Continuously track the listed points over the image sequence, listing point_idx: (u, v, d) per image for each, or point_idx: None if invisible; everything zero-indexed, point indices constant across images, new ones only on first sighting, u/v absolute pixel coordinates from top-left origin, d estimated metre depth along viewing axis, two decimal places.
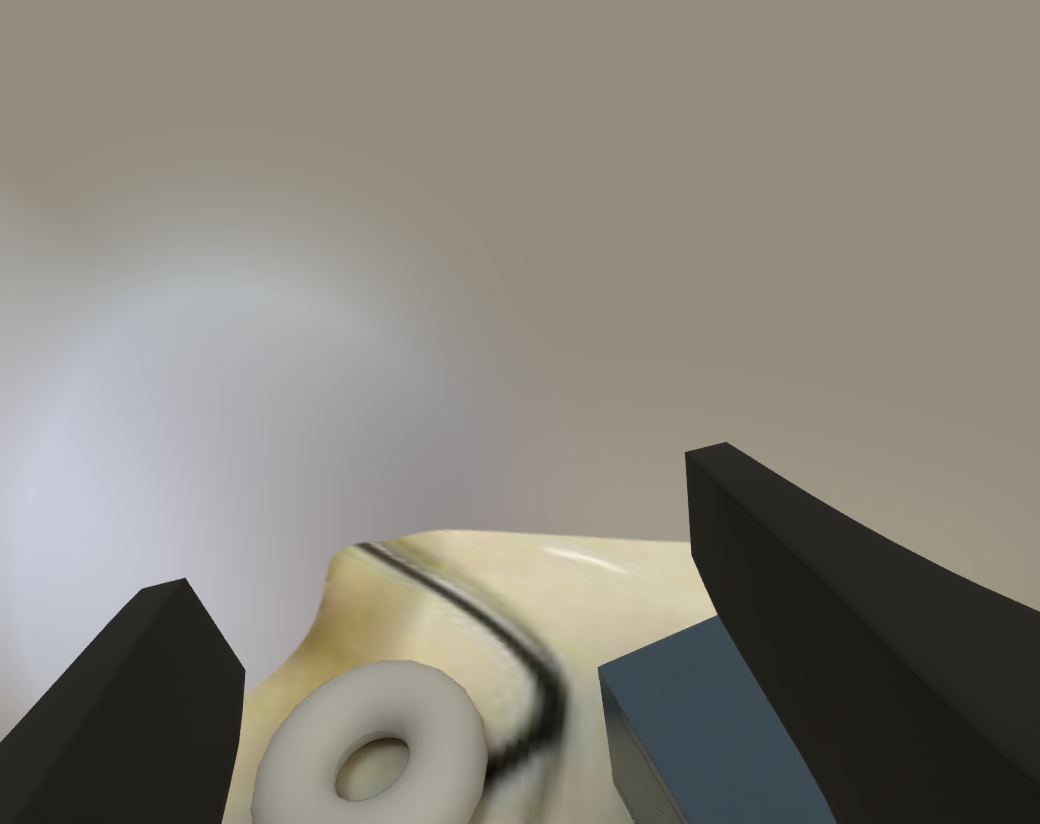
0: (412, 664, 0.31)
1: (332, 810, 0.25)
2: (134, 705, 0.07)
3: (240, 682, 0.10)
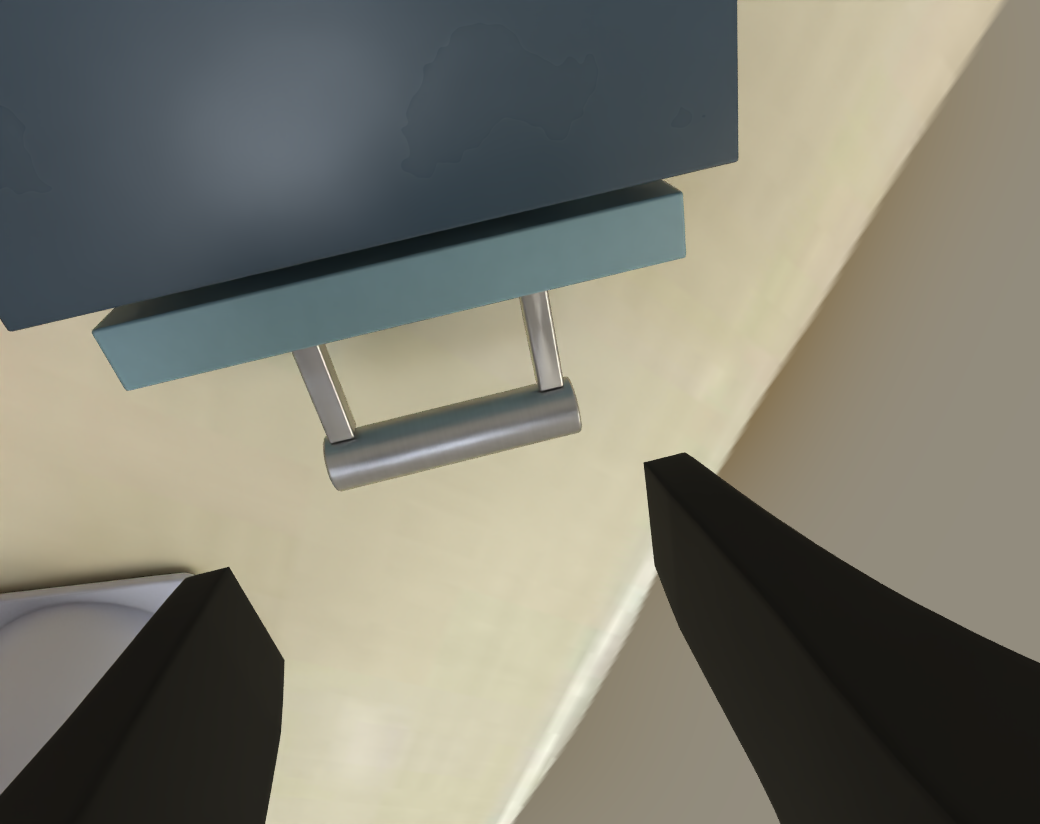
0: None
1: None
2: (187, 691, 0.07)
3: (280, 671, 0.10)
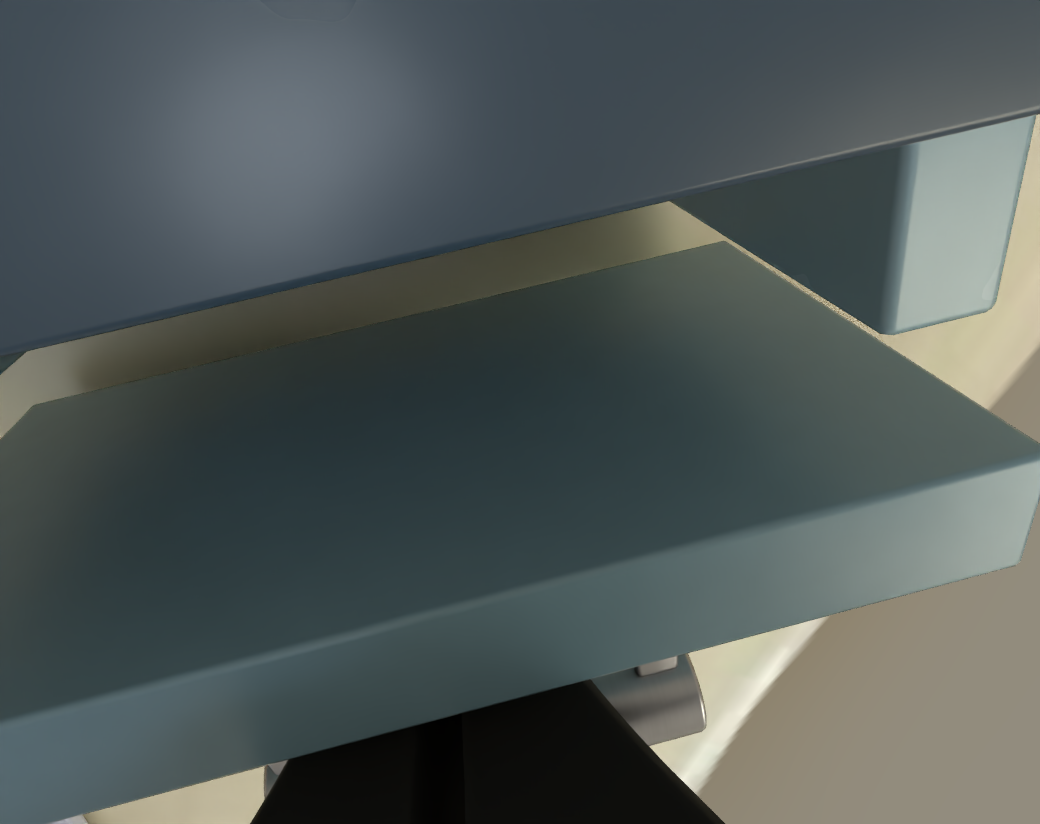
0: None
1: None
2: None
3: None
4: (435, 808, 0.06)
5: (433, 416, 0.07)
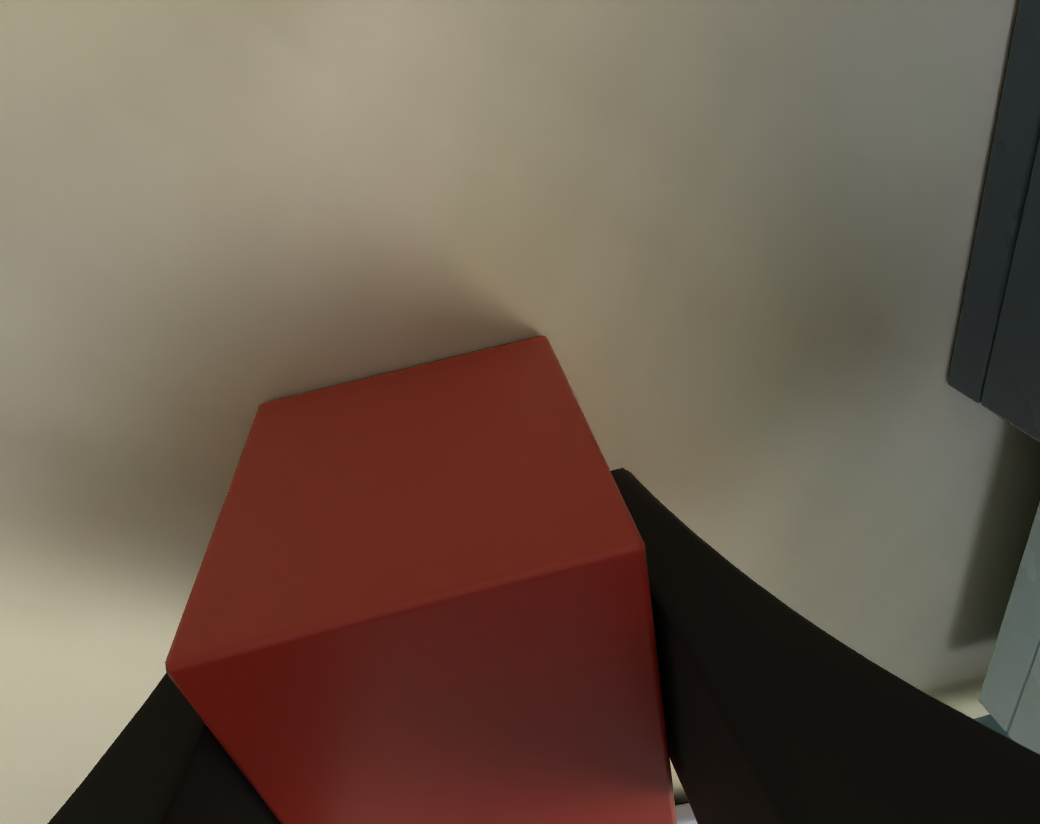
0: None
1: None
2: None
3: None
4: None
5: None
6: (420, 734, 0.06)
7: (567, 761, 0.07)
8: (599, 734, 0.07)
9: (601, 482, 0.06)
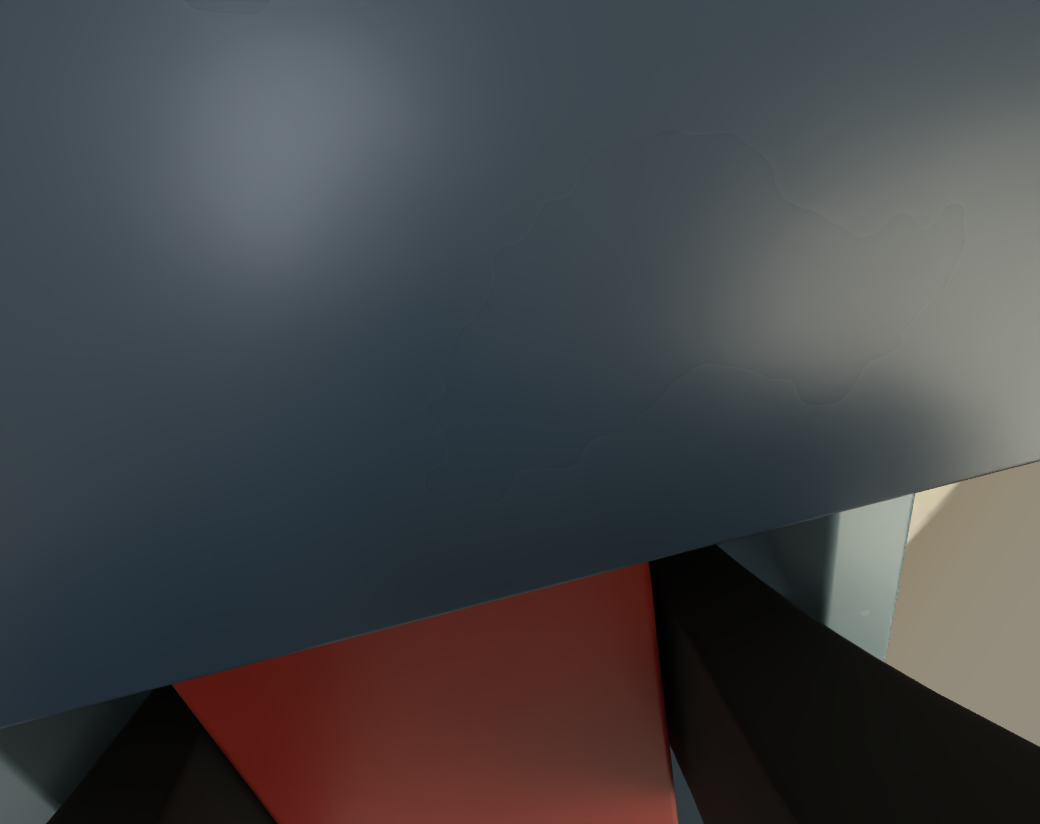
0: None
1: None
2: None
3: None
4: None
5: None
6: (419, 732, 0.06)
7: (568, 759, 0.07)
8: (601, 735, 0.07)
9: None
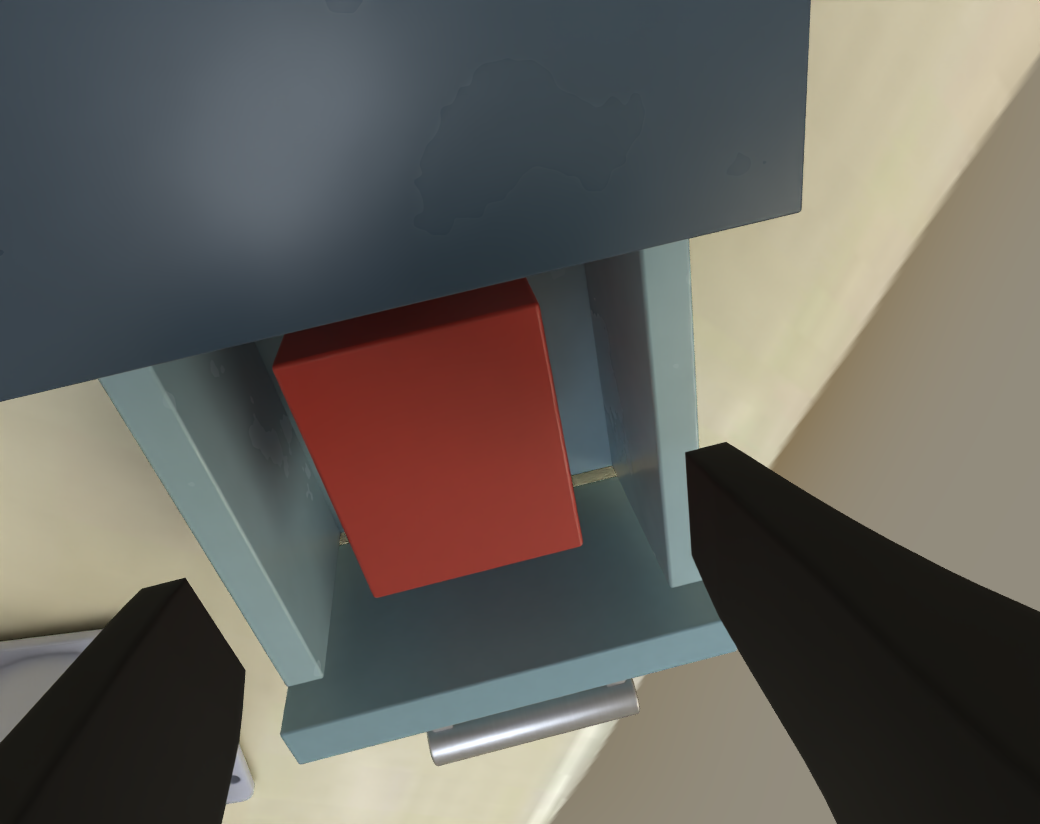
0: None
1: None
2: (134, 705, 0.07)
3: (240, 682, 0.10)
4: None
5: (516, 580, 0.16)
6: (414, 432, 0.11)
7: (504, 465, 0.11)
8: (523, 446, 0.11)
9: (521, 284, 0.11)
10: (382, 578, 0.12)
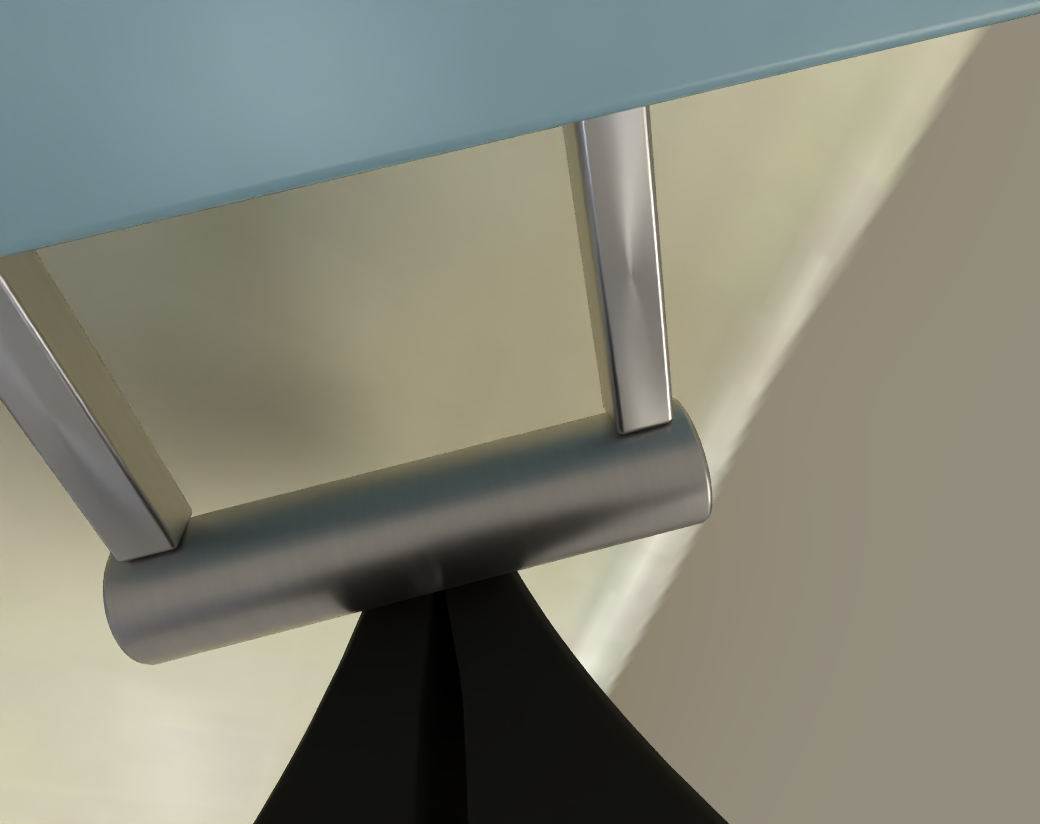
0: None
1: None
2: (442, 625, 0.07)
3: None
4: (438, 807, 0.06)
5: None
6: None
7: None
8: None
9: None
10: None
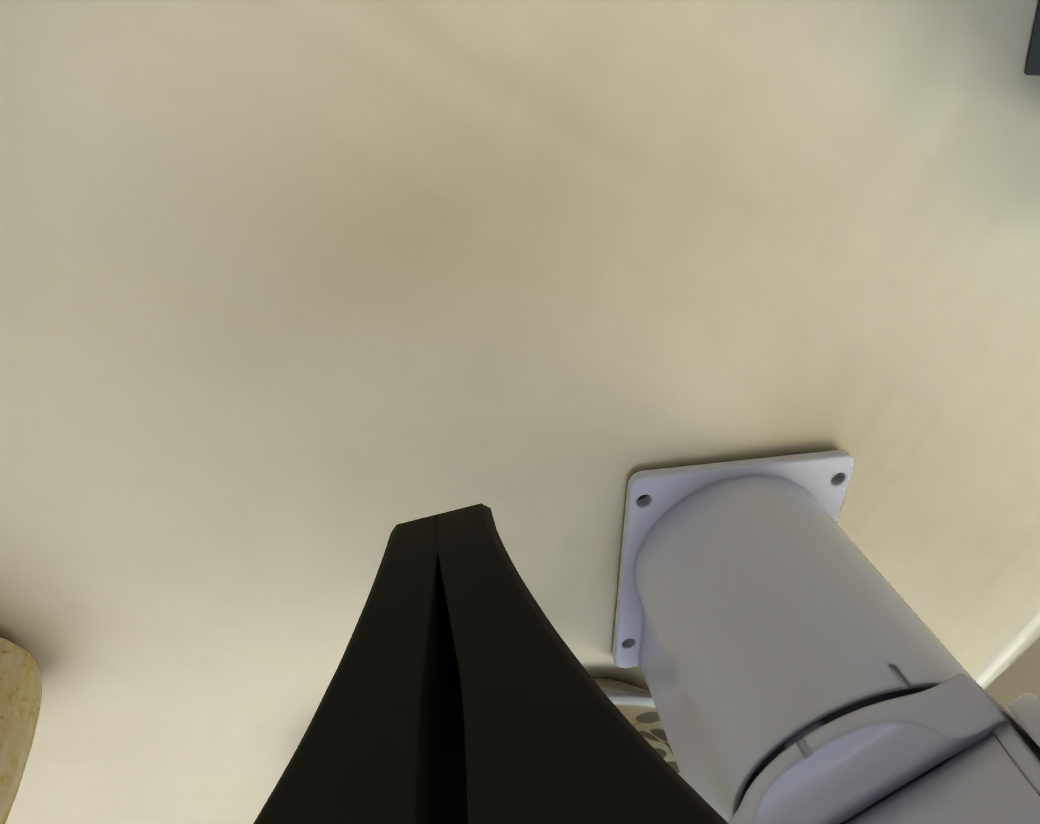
0: None
1: None
2: (442, 625, 0.07)
3: None
4: (439, 807, 0.06)
5: None
6: None
7: None
8: None
9: None
10: None
